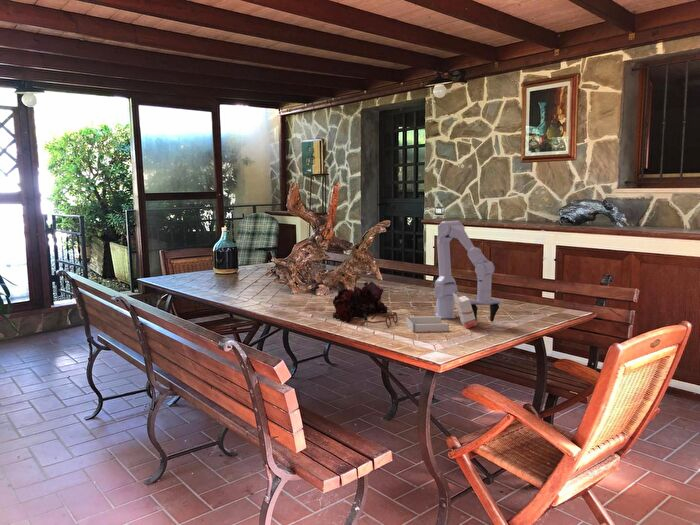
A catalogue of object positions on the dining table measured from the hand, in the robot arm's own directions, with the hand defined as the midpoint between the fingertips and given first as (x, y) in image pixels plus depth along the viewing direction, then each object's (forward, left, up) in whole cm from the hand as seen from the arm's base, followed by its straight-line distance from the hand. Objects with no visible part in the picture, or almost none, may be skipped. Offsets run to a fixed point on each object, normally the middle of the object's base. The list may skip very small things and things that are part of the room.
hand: (483, 321), depth 232 cm
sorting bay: (0, -24, -2) cm, 24 cm away
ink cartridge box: (0, -6, -1) cm, 6 cm away
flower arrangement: (-27, -51, -2) cm, 58 cm away
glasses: (-9, -44, -3) cm, 45 cm away
